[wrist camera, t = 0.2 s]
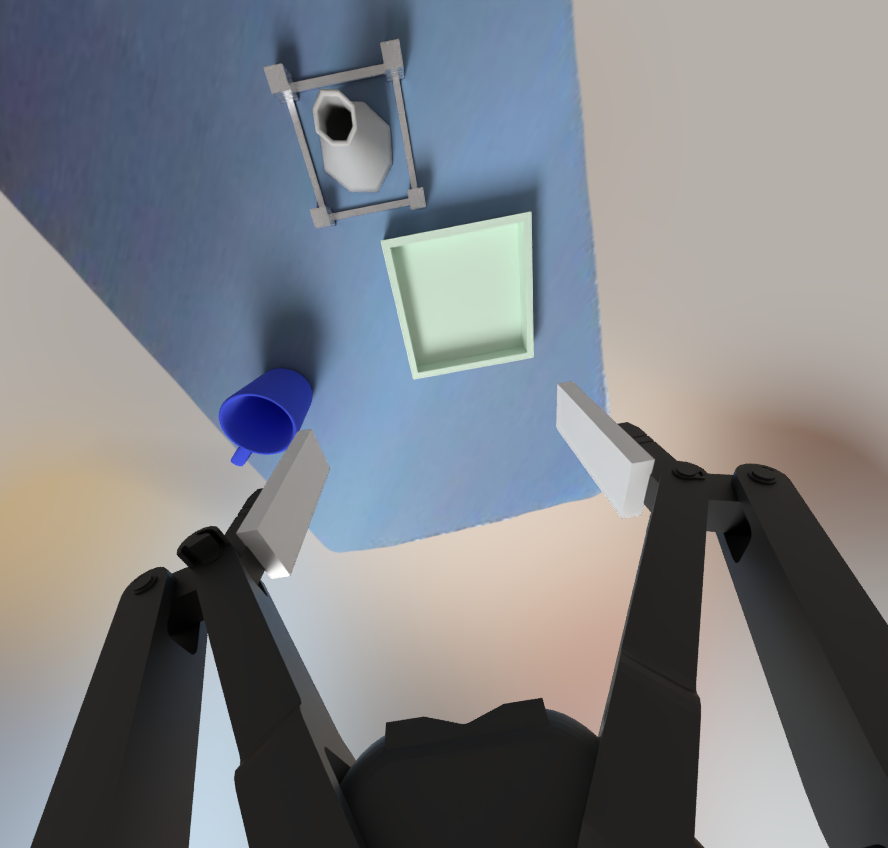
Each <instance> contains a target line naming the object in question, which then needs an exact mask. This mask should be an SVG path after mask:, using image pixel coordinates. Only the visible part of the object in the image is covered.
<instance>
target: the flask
mask: <svg viewBox="0 0 888 848" xmlns="http://www.w3.org/2000/svg"><path fill="white" fill-rule="evenodd" d="M312 109H313V115H314V122H315V128H316V133H317V134H319V136H320V142H321V149H322V155H323V162H324V168H325V171H326V172H327V173H328V174H329V175H330V176H332V177H333V178H334V179H335V180H337V181H338V182H339V183H340V184H341V185H343V186H344V187H345V188H346V189H347V190H349V191H350V192H378V191H379V190H380V188H381V186H382V184H383V182H384V180H385V178H386V176H387V174H388V172H389V170H390V169H391V167H392V165H393V163H392V148H391V133H390V126H389V125H388V124H387V123H386V122H385V121H384V120H383V119H382V118H380V117H379V116H378V115H377V114H376V113H375V112H374V111H373V110H372V109H371V108H370V107H369V106H368V105H367V104H366V103H365V102H360V101H350V100H349V99H348V98H347V97H346V96H345V95H344V94H343V93H342V92H341V91H340V90H337V89H320V91H319V94H318V96H317V98H316V101H315V103H314V106H313V108H312Z"/></svg>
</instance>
